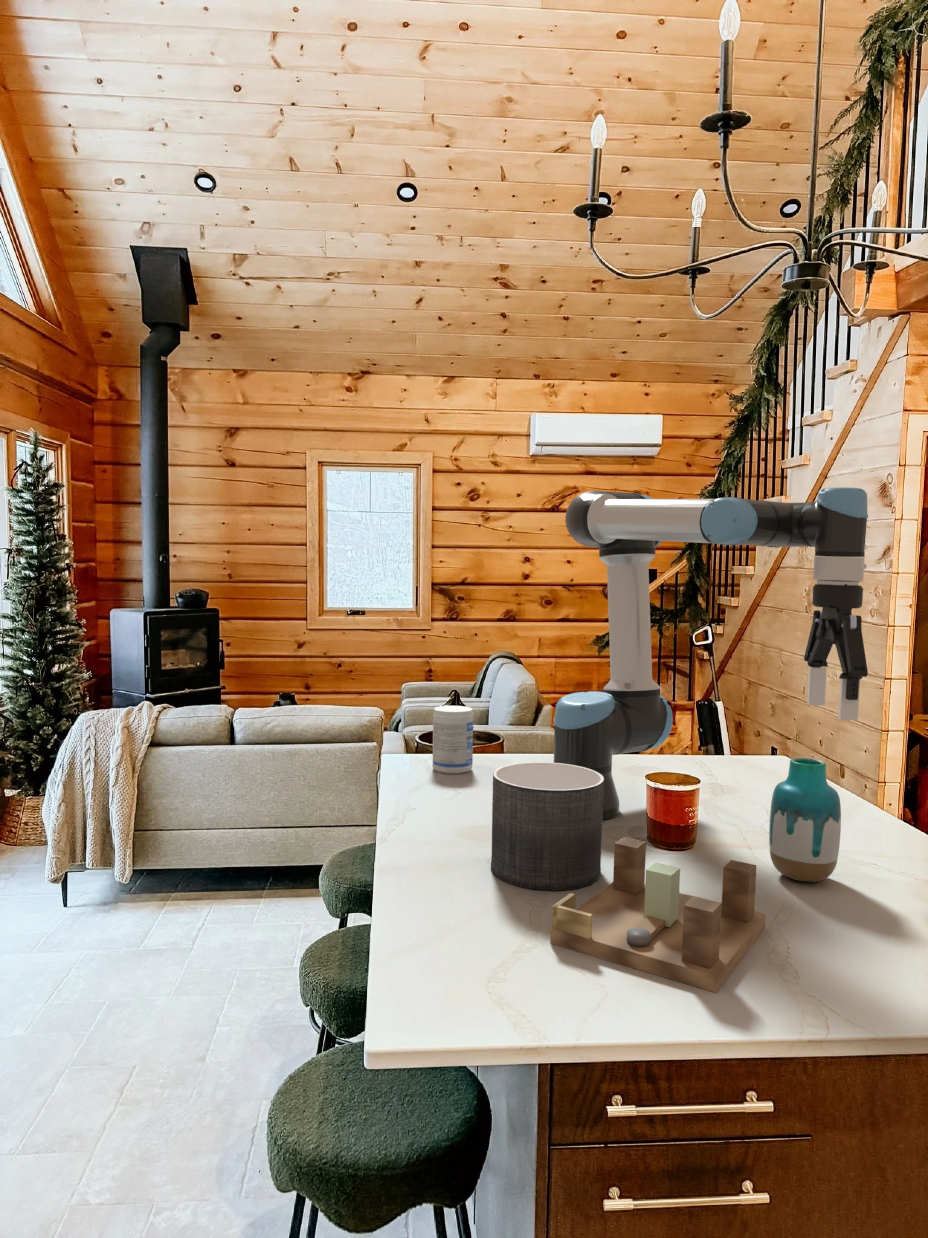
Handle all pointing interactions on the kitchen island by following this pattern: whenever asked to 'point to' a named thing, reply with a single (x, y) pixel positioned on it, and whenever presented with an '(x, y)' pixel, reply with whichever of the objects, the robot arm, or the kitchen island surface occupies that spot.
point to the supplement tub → (452, 739)
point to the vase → (805, 823)
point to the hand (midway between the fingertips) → (831, 712)
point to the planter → (547, 825)
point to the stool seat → (683, 951)
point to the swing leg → (657, 903)
